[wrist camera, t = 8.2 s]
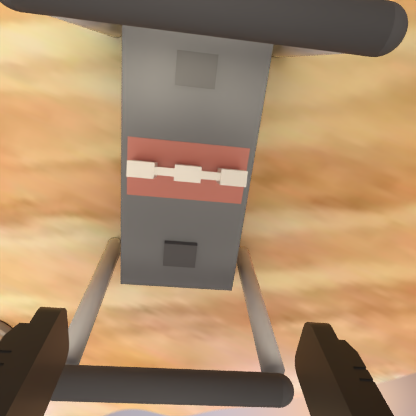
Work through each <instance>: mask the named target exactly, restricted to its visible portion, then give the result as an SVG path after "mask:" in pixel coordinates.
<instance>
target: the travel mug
mask: <svg viewBox="0 0 416 416" xmlns="http://www.w3.org/2000/svg"><path fill="white" fill-rule="evenodd" d="M11 329H12V328H11V327H9V326H8V325H7V324H5V323H3V322H1V321H0V340H1V339H2V337H3V336H4V335H5V334H6V333H7V332H9V331H10V330H11Z"/></svg>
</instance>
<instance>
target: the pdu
mask: <svg viewBox="0 0 416 416" xmlns="http://www.w3.org/2000/svg"><path fill="white" fill-rule="evenodd" d="M51 17H54V18H57V19H60V20H63V21H66V22H69V23H72V24H76V25H79V26H82V27H85V28H88V29H91V30H94V31H97V32H100V33H103V34H106V35H109V36H112V37H120V36H121V35H122V132H121V240H120V239H119V238H111V239H110V240H109V241H108V244H107V246H106V248H105V250H104V252H103V254H102V257H101V259H100V261H99V263H98V265H97V267H96V270H95V272H94V274H93V276H92V278H91V280H90V283H89V285H88V287H87V289H86V291H85V293H84V296H83V298H82V300H81V302H80V304H79V306H78V309H77V311H76V313H75V315H74V317H73V319H72V322H71V324H70V326H69V328H68V333H69V352H68V357H67V360H66V363H65V365H79V362H80V360H81V357H82V354H83V352H84V349H85V346H86V344H87V341H88V338H89V336H90V333H91V330H92V327H93V325H94V322H95V319H96V317H97V314H98V311H99V309H100V306H101V303H102V301H103V298H104V295H105V293H106V290H107V287H108V284H109V282H110V279H111V276H112V274H113V271H114V268H115V266H116V263H117V260H118V258H119V255H120V252H121V284H132V285H149V286H165V287H182V288H198V289H215V290H231V291H232V286H233V280H234V274H235V268H236V263H237V266H238V270H239V275H240V279H241V284H242V288H243V292H244V297H245V301H246V306H247V310H248V314H249V319H250V323H251V327H252V332H253V336H254V341H255V345H256V349H257V354H258V358H259V363H260V367H261V371H262V372H269V373H281V374H284V372H285V369H284V365H283V362H282V359H281V356H280V352H279V349H278V346H277V342H276V339H275V336H274V333H273V329H272V326H271V323H270V319H269V316H268V313H267V310H266V306H265V303H264V300H263V297H262V293H261V290H260V287H259V283H258V280H257V277H256V274H255V270H254V267H253V264H252V260H251V257H250V254H249V251H248V249H247V248H245V247H239V245H240V239H241V233H242V227H243V221H244V215H245V210H246V204H247V198H248V192H249V186H250V180H251V174H252V168H253V163H254V157H255V151H256V145H257V139H258V133H259V127H260V121H261V116H262V110H263V104H264V98H265V92H266V86H267V80H268V74H269V68H270V63H271V57H272V56H273V57H293V56H310V55H327V54H344V53H338V52H330V51H322V50H314V49H306V48H299V47H291V46H283V45H275V44H267V43H259V42H252V41H244V40H236V39H228V38H220V37H212V36H205V35H197V34H189V33H181V32H173V31H165V30H158V29H150V28H142V27H134V26H126V25H118V24H111V23H103V22H95V21H87V20H79V19H72V18H64V17H56V16H51ZM127 160H140V161H151V162H158V165H157V167H165V168H175V164H183V165H194V166H201V167H202V171H209V172H217V169H218V168H226V169H237V170H244V171H248V175H247V184H246V187H237V186H226V185H220V184H218V183H217V182H216V180H206V179H201V182H200V183H192V182H181V181H174V177H172V176H161V175H157V177H156V178H154V179H147V178H136V177H126V169H127Z"/></svg>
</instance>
